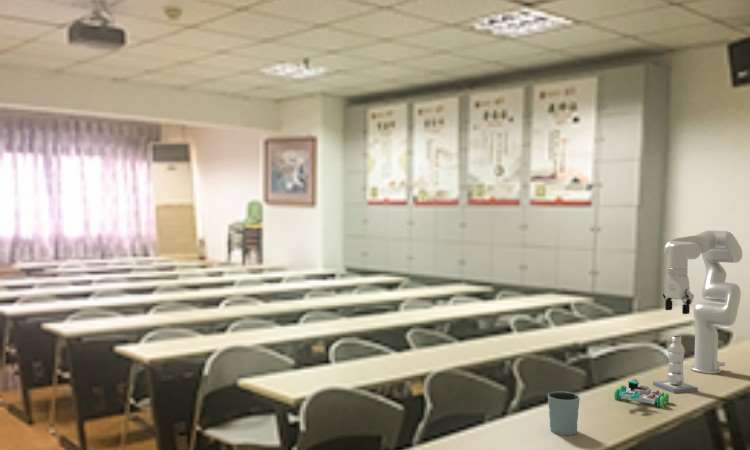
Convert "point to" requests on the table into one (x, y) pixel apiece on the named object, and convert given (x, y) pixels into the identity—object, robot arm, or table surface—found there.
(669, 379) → the plastic bottle
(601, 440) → the table surface
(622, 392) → the robot kit
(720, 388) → the table surface
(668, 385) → the grey flat square slab
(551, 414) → the grey blue cup
